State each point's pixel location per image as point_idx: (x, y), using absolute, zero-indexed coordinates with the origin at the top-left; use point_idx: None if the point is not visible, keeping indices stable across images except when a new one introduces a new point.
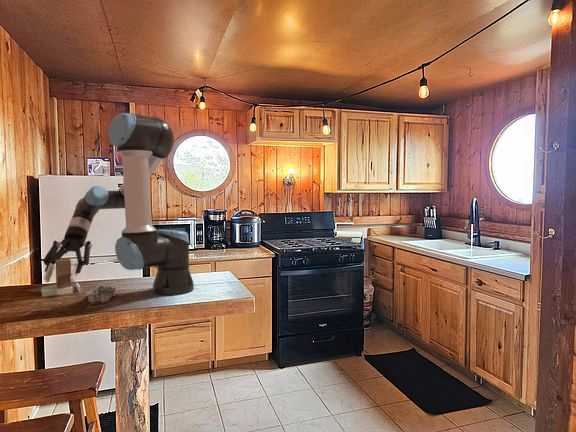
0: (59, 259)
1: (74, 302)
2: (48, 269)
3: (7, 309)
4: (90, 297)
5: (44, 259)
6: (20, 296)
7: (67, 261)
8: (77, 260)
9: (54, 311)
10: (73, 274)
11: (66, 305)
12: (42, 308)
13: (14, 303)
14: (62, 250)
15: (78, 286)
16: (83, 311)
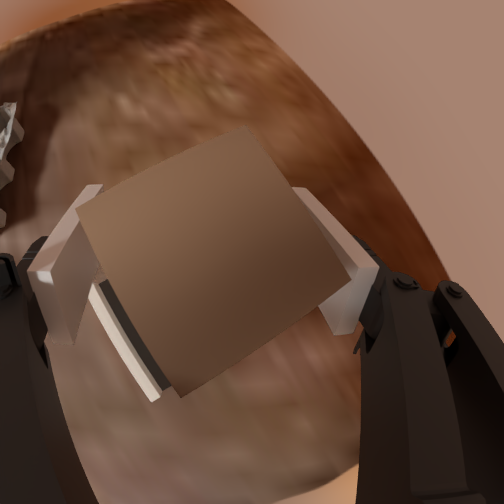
0: (294, 280)
1: (71, 112)
2: (330, 224)
3: (285, 60)
4: (9, 116)
5: (464, 297)
6: (364, 213)
7: (118, 189)
8: (22, 307)
9: (118, 36)
10: (76, 200)
11: (93, 80)
12: (169, 55)
13: (313, 115)
14: (404, 495)
15: (96, 294)
16: (37, 46)
